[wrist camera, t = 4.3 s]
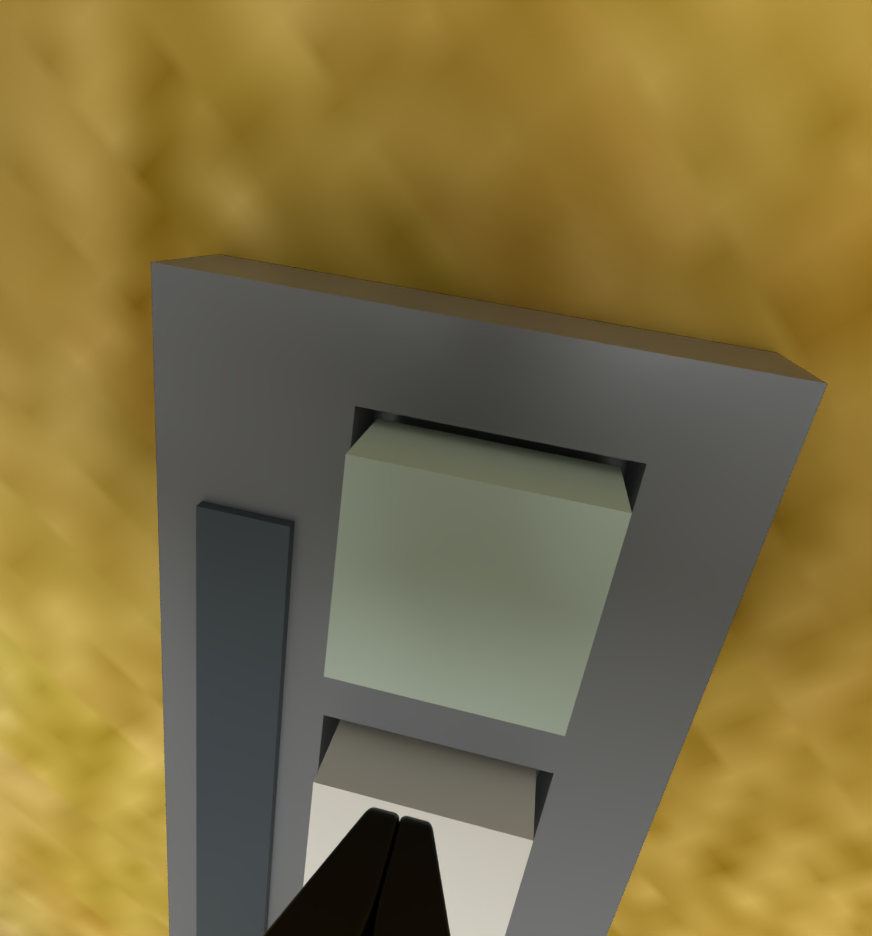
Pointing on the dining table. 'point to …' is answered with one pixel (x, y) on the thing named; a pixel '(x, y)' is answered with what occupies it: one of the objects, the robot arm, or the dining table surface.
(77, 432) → the dining table surface
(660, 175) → the dining table surface
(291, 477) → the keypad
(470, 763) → the key offwhite
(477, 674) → the key sage
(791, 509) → the dining table surface
